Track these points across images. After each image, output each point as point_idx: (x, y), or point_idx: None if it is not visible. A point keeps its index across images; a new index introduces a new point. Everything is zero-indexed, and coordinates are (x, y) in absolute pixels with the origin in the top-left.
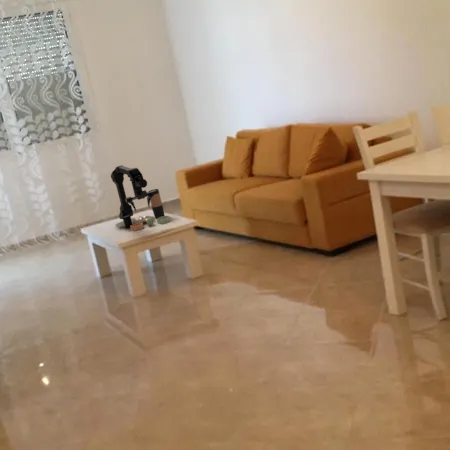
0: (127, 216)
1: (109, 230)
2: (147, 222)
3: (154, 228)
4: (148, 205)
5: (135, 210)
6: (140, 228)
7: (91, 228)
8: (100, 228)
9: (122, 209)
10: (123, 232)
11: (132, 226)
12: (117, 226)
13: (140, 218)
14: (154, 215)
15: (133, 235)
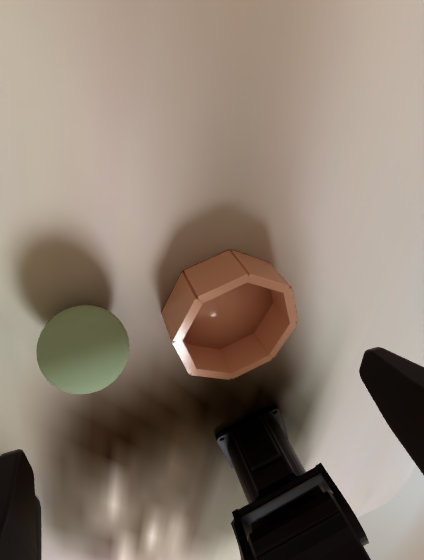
0: (280, 499)
1: (363, 408)
2: (116, 324)
3: (23, 95)
4: (6, 511)
5: (392, 354)
6: (202, 265)
7: (384, 489)
8: (366, 469)
9: (368, 557)
10: (340, 282)
11: (289, 285)
12: (303, 457)
13: (152, 537)
14: (37, 526)
15: (336, 10)
